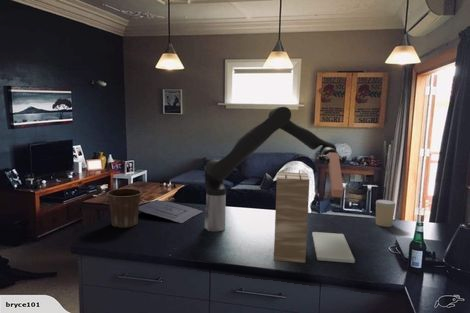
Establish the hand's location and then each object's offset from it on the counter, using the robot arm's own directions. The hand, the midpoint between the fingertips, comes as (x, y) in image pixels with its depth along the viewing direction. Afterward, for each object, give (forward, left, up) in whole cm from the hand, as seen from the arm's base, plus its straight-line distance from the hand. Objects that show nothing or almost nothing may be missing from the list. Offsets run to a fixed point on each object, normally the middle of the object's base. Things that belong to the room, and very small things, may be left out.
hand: (334, 161), depth 157 cm
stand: (-24, -6, -36) cm, 44 cm away
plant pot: (-82, +53, -36) cm, 104 cm away
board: (-3, -5, -36) cm, 37 cm away
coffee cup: (+43, +13, -36) cm, 58 cm away
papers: (-58, +64, -37) cm, 94 cm away
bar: (-2, -4, -6) cm, 7 cm away
